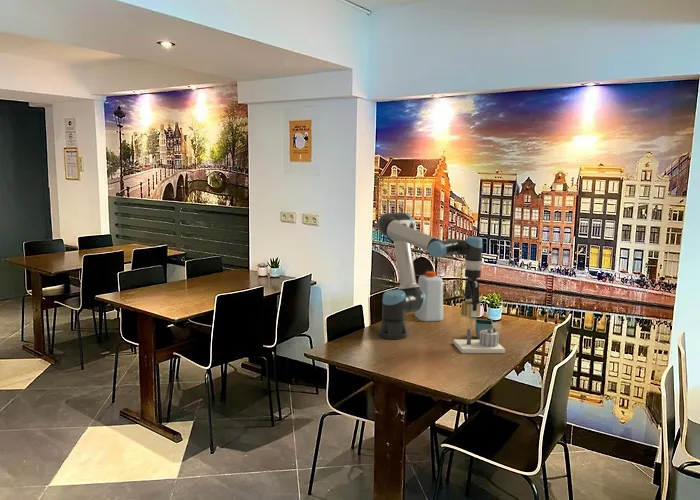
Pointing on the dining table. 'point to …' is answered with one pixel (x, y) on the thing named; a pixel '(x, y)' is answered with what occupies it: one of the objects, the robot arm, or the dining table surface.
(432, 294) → the plastic bottle
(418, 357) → the dining table surface
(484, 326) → the flower pot
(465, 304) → the brass gear
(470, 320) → the dining table surface
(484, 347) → the gear board
